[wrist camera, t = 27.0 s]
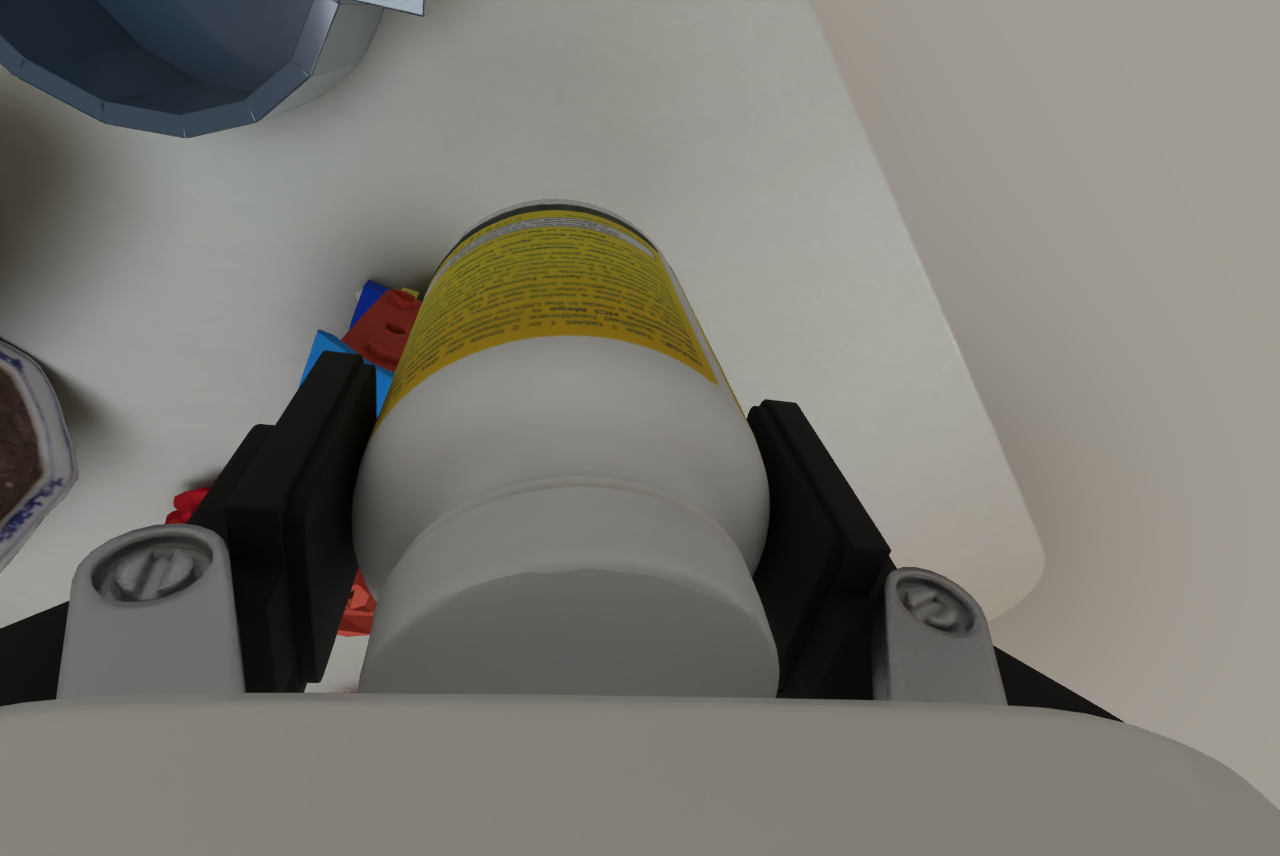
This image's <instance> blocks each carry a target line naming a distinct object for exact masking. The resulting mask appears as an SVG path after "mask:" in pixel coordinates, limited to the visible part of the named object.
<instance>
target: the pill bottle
mask: <svg viewBox="0 0 1280 856" xmlns="http://www.w3.org/2000/svg"><path fill="white" fill-rule="evenodd" d="M769 517H770V496H769V487H768V480H767V475H766V470H765V467H764V464H763V460H762V457H761V454H760V451H759V448H758V446H757V443H756V440H755V437H754V434H753V432H752V430H751V428H750V426H749V424H748V422H747V420H746V417H745V415H744V413H743V411H742V409H741V407H740V405H739V403H738V401H737V399H736V397H735V395H734V393H733V391H732V389H731V387H730V385H729V383H728V381H727V379H726V377H725V374H724V372H723V370H722V368H721V366H720V364H719V362H718V360H717V358H716V356H715V354H714V352H713V350H712V348H711V346H710V344H709V342H708V340H707V338H706V336H705V334H704V332H703V330H702V328H701V326H700V324H699V322H698V320H697V318H696V316H695V314H694V312H693V309H692V307H691V306H690V304H689V302H688V300H687V298H686V296H685V294H684V291H683V289H682V287H681V285H680V283H679V281H678V279H677V277H676V275H675V274H674V272H673V270H672V268H671V267H670V265H669V264H668V262H667V261H666V259H665V257H664V256H663V254H662V253H661V252H660V250H659V249H658V248H657V247H656V245H655V244H654V243H653V242H652V241H651V240H650V239H649V238H648V237H647V236H646V235H645V234H644V233H643V232H642V231H641V230H639V229H638V228H637V227H635V226H634V225H633V224H631V223H630V222H629V221H627V220H625V219H624V218H622V217H620V216H619V215H617V214H615V213H613V212H611V211H609V210H607V209H604V208H601V207H598V206H595V205H592V204H589V203H584V202H579V201H574V200H563V199H543V200H535V201H529V202H524V203H520V204H516V205H513V206H510V207H507V208H504V209H502V210H500V211H497V212H495V213H493V214H491V215H489V216H487V217H485V218H484V219H482V220H481V221H479V222H478V223H476V224H475V225H474V226H472V227H471V228H470V229H468V230H467V231H466V232H465V233H464V234H463V235H462V236H461V237H460V238H459V239H458V240H457V241H456V242H455V243H454V244H453V245H452V247H451V248H450V249H449V250H448V252H447V253H446V255H445V256H444V258H443V259H442V261H441V263H440V265H439V267H438V268H437V270H436V271H435V273H434V275H433V277H432V280H431V282H430V285H429V287H428V290H427V292H426V294H425V297H424V300H423V302H422V304H421V307H420V309H419V312H418V315H417V318H416V320H415V323H414V326H413V328H412V330H411V332H410V335H409V338H408V341H407V343H406V346H405V348H404V351H403V353H402V356H401V359H400V361H399V364H398V366H397V369H396V372H395V374H394V377H393V379H392V382H391V385H390V387H389V390H388V392H387V395H386V397H385V400H384V403H383V405H382V408H381V410H380V413H379V415H378V418H377V420H376V423H375V426H374V428H373V431H372V433H371V436H370V438H369V441H368V444H367V446H366V449H365V452H364V455H363V458H362V460H361V463H360V466H359V470H358V475H357V480H356V484H355V489H354V493H353V501H352V536H353V545H354V550H355V554H356V559H357V562H358V564H359V567H360V570H361V573H362V575H363V578H364V581H365V583H366V585H367V587H368V589H369V591H370V593H371V594H372V596H373V598H374V599H375V601H376V602H377V604H376V607H375V610H374V616H373V622H372V629H371V633H370V638H369V642H368V646H367V650H366V654H365V658H364V663H363V667H362V670H361V674H360V680H359V687H358V693H403V694H519V695H595V696H666V697H732V698H776V694H777V689H778V682H779V662H778V654H777V648H776V645H775V642H774V639H773V636H772V633H771V630H770V627H769V624H768V621H767V617H766V614H765V611H764V608H763V605H762V602H761V600H760V597H759V595H758V592H757V590H756V587H755V585H754V582H753V580H752V577H753V575H754V573H755V571H756V569H757V567H758V564H759V561H760V558H761V556H762V553H763V550H764V547H765V544H766V538H767V533H768V526H769Z"/></svg>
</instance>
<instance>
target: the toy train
mask: <svg viewBox="0 0 1280 856" xmlns="http://www.w3.org/2000/svg"><path fill="white" fill-rule="evenodd" d="M418 295H419V292H417V291H414V290H411V289H408V288H404V287H403V288H402V290H398V289H395V290H393V291H392V290H391V289H389V288H387V287H384V286H382V285H380V284H377V283H375V282H373V281H370V280H368V281H367V283H366V284H365V285H364V287H362V288H361V289H359V290H357V291H356V292H355V296H356V299H357V303H358V304H357V307H356V309H355V312H354V316H353V319H352V322H351V325H350V329H349V332H348V333H347V334H346V335H345V336H344V337H343V339H342V340H339V339H338V338H337V337H335V336H334V335H332V334H330V333H327V332H325V331H322V330H318V332H317V335H316V338H315V341H314V344H313V347H312V350H311V353H310V356H309V358H308V361H307V364H306V367H305V370H304V373H303V376H302V379H301V382H300V385H299V388H300V386H301V384H302V383H303V381H304V380H305V378H306V377H307V375H308V373H309V372H310V370H311V369H312V367H313V366H314V364H315V362H316V361H317V359H318V358H319V356H320V355H321V353H322V352H323V351H324V350H326V351H335V352H344V353H353V354H362V356H363V359H364V364H373V365H375V367H376V389H377V418H378V415H379V413H380V410H381V408H382V405H383V403H384V400H385V397H386V395H387V392H388V390H389V387H390V385H391V382H392V379H393V377H394V374H395V372H396V369H397V366H398V364H399V361H400V359H401V356H402V353H403V351H404V348H405V346H406V343H407V341H408V338H409V335H410V332H411V330H412V328H413V326H414V323H415V320H416V318H417V315H418V312H419V309H420V307H421V304H422V302H421V301H418V300H417V297H418ZM299 388H298V389H299ZM376 604H377V602H376V601H375V599H374V598H373V596H372V594H371V593H370V591H369V589H368V587H367V585H366V583H365V581H364V578H363V575H362V573H361V570H360V567H359V568H358V571H357V574H356V578H355V581H354V584H353V587H352V590H351V593H350V596H349V599H348V602H347V605H346V608H345V611H344V614H343V617H342V620H341V623H340V626H339V630H338V633H337V634H338V635H342V636H345V637H348V636H360V635H370V633H371V629H372V622H373V616H374V610H375V607H376Z"/></svg>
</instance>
